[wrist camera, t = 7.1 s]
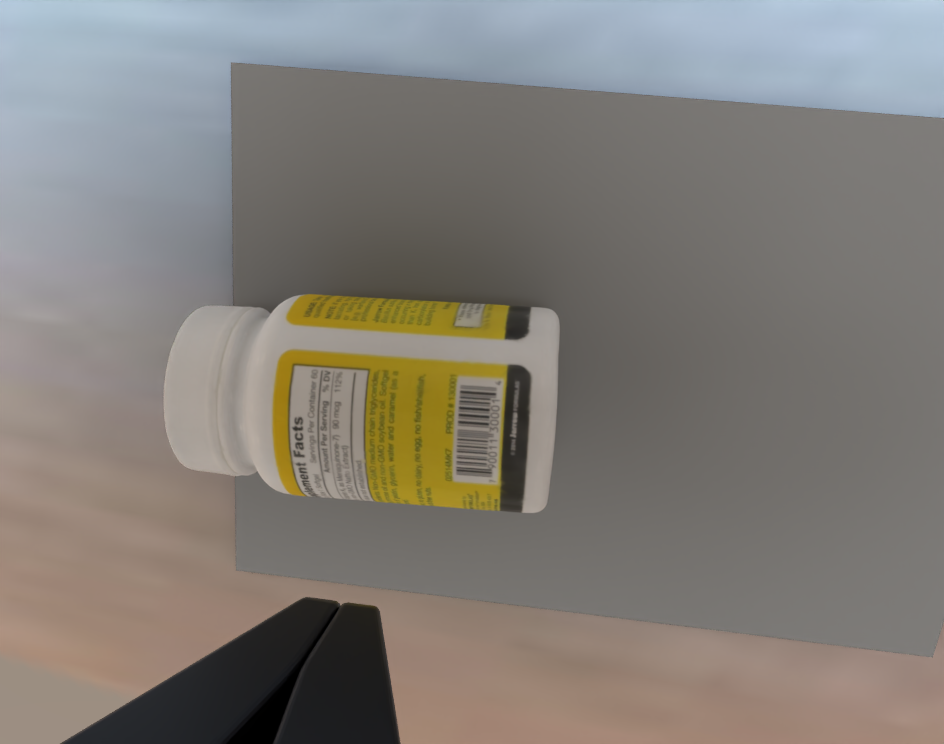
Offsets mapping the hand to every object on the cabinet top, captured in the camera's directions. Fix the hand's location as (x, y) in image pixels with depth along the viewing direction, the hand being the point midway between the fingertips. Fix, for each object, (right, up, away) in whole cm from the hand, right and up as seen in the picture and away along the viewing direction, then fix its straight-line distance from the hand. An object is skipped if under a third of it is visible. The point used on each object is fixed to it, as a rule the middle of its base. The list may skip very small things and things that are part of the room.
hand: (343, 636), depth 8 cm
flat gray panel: (+5, +3, +11) cm, 12 cm away
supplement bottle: (+3, +2, +9) cm, 10 cm away
